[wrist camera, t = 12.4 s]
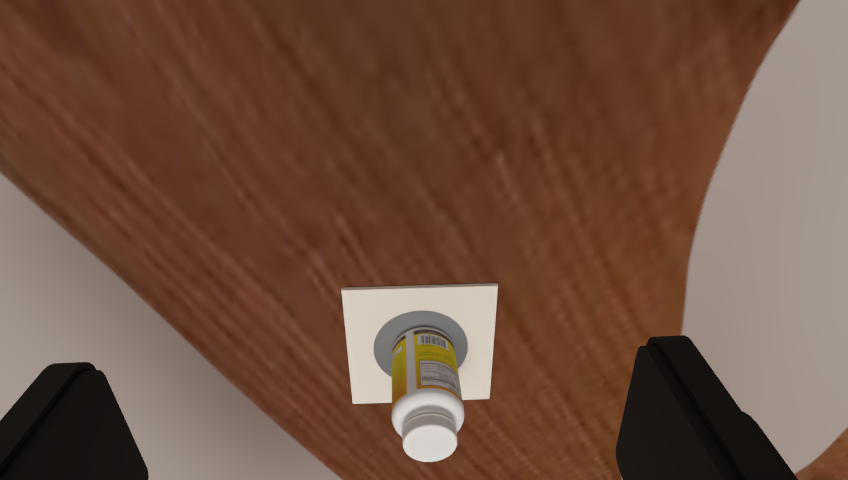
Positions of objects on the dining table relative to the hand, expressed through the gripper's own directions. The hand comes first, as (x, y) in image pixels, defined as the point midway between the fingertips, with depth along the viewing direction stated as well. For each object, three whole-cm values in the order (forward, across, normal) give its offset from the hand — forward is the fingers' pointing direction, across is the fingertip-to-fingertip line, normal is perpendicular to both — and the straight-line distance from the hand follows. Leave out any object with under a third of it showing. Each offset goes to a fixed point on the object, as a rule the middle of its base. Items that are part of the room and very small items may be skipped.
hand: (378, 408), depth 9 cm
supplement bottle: (+29, -1, +24) cm, 38 cm away
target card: (+29, -1, +24) cm, 38 cm away
